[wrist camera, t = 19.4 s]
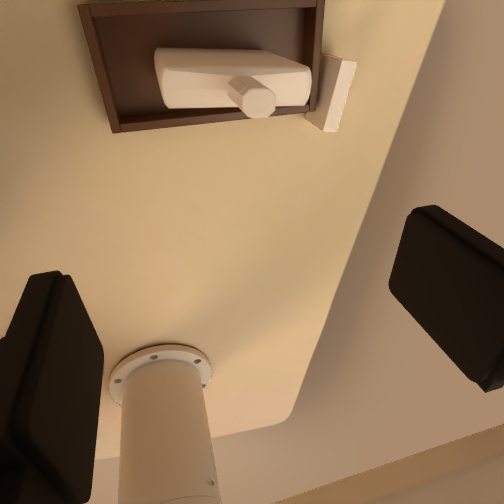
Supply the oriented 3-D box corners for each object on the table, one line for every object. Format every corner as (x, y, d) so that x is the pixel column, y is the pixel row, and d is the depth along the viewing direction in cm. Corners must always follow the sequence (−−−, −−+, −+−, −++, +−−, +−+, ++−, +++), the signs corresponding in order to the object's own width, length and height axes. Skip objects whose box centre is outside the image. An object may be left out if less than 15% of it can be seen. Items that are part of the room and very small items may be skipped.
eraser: (304, 118, 29) (323, 131, 26) (319, 53, 26) (342, 59, 23) (317, 120, 29) (337, 132, 26) (333, 55, 26) (358, 62, 24)
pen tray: (311, -5, 24) (325, -5, 22) (305, 104, 28) (316, 111, 26) (81, 4, 21) (76, 4, 19) (114, 124, 25) (112, 133, 23)
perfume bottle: (156, 80, 24) (168, 130, 14) (152, 47, 22) (162, 79, 13) (265, 80, 26) (337, 124, 16) (266, 49, 24) (346, 79, 15)
